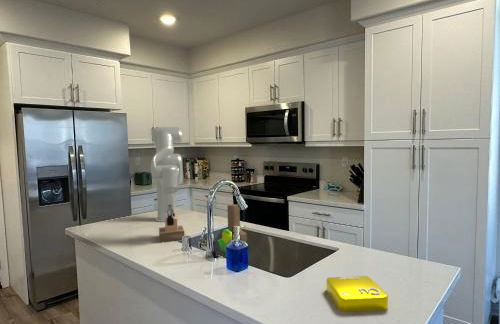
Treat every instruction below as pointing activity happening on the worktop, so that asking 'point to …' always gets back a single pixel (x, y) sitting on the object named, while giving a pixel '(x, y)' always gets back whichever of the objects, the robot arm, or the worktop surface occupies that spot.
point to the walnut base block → (171, 234)
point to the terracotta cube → (172, 227)
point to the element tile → (356, 294)
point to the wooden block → (235, 220)
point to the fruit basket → (225, 239)
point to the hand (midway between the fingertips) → (171, 222)
